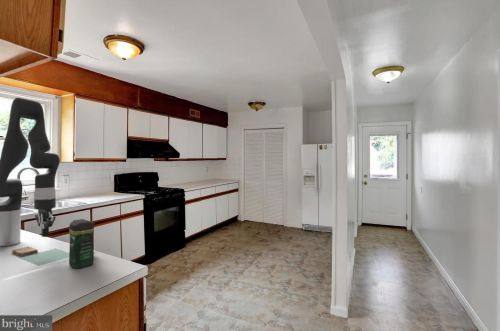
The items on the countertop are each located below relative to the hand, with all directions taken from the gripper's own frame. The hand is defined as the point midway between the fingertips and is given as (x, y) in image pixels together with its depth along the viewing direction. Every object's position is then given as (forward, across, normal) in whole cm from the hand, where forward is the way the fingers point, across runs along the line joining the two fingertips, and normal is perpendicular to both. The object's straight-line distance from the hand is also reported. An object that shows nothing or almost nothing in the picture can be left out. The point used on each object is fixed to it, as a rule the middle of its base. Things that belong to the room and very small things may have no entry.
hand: (45, 236), depth 117 cm
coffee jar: (+10, +23, +3) cm, 25 cm away
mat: (+9, +2, 0) cm, 9 cm away
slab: (+8, -6, -3) cm, 11 cm away
